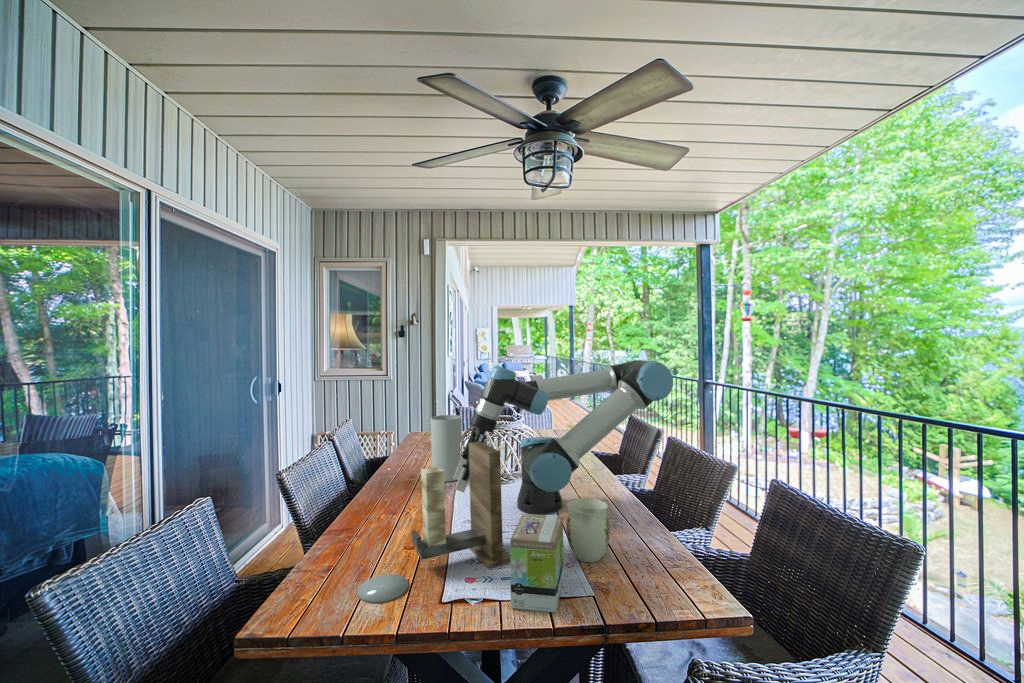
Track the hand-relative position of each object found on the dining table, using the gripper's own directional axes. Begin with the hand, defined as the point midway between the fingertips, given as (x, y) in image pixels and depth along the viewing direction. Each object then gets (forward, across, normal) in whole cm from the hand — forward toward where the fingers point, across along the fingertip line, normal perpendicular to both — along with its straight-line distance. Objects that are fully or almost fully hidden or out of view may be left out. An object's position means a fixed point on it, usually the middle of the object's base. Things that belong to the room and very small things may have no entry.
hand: (458, 484), depth 136 cm
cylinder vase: (+11, -56, +3) cm, 57 cm away
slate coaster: (+21, +28, -11) cm, 37 cm away
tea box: (+8, +37, +20) cm, 43 cm away
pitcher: (0, +22, +35) cm, 42 cm away
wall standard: (+13, +18, +5) cm, 23 cm away
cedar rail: (+11, +20, -3) cm, 23 cm away
